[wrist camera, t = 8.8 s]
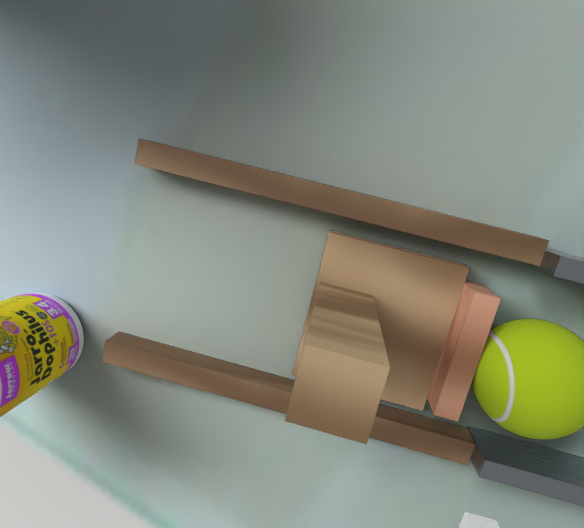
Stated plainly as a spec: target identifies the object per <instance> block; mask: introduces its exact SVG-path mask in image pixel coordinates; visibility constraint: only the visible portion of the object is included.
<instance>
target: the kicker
mask: <svg viewBox="0 0 584 528" xmlns="http://www.w3.org/2000/svg"><path fill="white" fill-rule="evenodd" d="M469 269H470V268H469V267H467V266H466V265H465V264H462V263H458V262H455V261H451V260H447V259H443V258H439V257H435V256H431V255H427V254H423V253H419V252H415V251H411V250H407V249H403V248H400V247H396V246H392V245H388V244H384V243H380V242H376V241H372V240H368V239H364V238H360V237H356V236H352V235H348V234H345V233H341V232H337V231H333V230H330V231H329V234H328V238H327V242H326V246H325V250H324V254H323V257H322V261H321V265H320V269H319V273H318V277H317V280H316V284H315V288H314V292H313V296H312V300H311V304H310V307H309V311H308V315H307V319H306V323H305V327H304V330H303V334H302V338H301V342H300V346H299V350H298V354H297V357H296V361H295V365H294V369H293V373H292V375H295V376H296V378H295V382H294V386H293V390H292V394H291V399H290V403H289V407H288V411H287V415H286V419H285V421H287V422H291V423H294V424H298V425H301V426H305V427H308V428H312V429H315V430H319V431H322V432H326V433H329V434H333V435H336V436H340V437H343V438H347V439H350V440H354V441H358V442H361V443H365V444H367V441H368V438H369V435H370V431H371V428H372V425H373V422H374V418H375V415H376V412H377V409H378V405H379V402H380V399H381V400H385V401H389V402H392V403H396V404H399V405H403V406H407V407H410V408H414V409H418V410H421V411H423V409H424V406H425V402H426V399H427V398H428V401H429V404H430V406H431V409H432V412H433V414H434V415H435V416H439V417H443V418H446V419H450V420H453V421H457V422H458V420H459V417H460V415H461V412H462V409H463V406H464V403H465V400H466V397H467V394H468V392H469V389H470V386H471V383H472V380H473V377H474V374H475V372H476V369H477V366H478V363H479V360H480V357H481V354H482V352H483V349H484V346H485V343H486V340H487V337H488V334H489V332H490V329H491V326H492V323H493V320H494V317H495V314H496V312H497V309H498V306H499V303H500V300H501V299H500V298H499V297H498V296H496V295H495V294H494V293H492V292H491V291H490V290H489V289H487V288H486V287H485V286H483V285H482V284H479V283H475V282H471V281H467V280H466V278H467V275H468V272H469Z"/></svg>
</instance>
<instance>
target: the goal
mask: <svg viewBox="0 0 584 528" xmlns="http://www.w3.org/2000/svg"><path fill="white" fill-rule="evenodd" d="M526 264H529V265H531V266H533V267H535V268H537V269H539V270H541V271H544V272H546V273H548V274H550V275H552V276H555V277H559V278H563V279H567V280H571V281H575V282H579V283H583V284H584V258H580V257H576V256H572V255H568V254H564V253H560V252H556V251H552V250H548V249H546V251H545V253H544V256H543V259H542V262H541V264H540V266H537V265H534V264H530V263H526ZM467 429H468V431H469V433H470V435H471V437H472V439H473V441H474V443H475V447H474V449H473V452H472V455H471V460H472V462H473V464H474V466H475V469H476V471H477V473H478V475H479V477H482V478H486V479H489V480H493V481H496V482H500V483H504V484H507V485H511V486H514V487H518V488H521V489H525V490H528V491H532V492H535V493H539V494H542V495H546V496H549V497H553V498H556V499H560V500H563V501H567V502H570V503H574V504H577V505H581V506H584V458H582V457H579V456H575V455H572V454H568V453H564V452H561V451H557V450H554V449H550V448H546V447H543V446H539V445H536V444H532V443H528V442H525V441H521V440H518V439H514V438H510V437H507V436H503V435H500V434H496V433H492V432H489V431H485V430H481V429H478V428H474V427H471V426H468V428H467Z"/></svg>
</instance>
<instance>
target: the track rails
mask: <svg viewBox="0 0 584 528" xmlns="http://www.w3.org/2000/svg"><path fill="white" fill-rule="evenodd" d="M135 164H137V165H141V166H145V167H149V168H153V169H157V170H161V171H165V172H169V173H173V174H177V175H181V176H184V177H188V178H192V179H196V180H200V181H204V182H208V183H212V184H216V185H220V186H224V187H228V188H232V189H236V190H240V191H244V192H248V193H252V194H256V195H260V196H264V197H268V198H272V199H276V200H280V201H284V202H288V203H292V204H296V205H300V206H303V207H307V208H311V209H315V210H319V211H323V212H327V213H331V214H335V215H339V216H343V217H347V218H351V219H355V220H359V221H363V222H367V223H371V224H375V225H379V226H383V227H387V228H391V229H395V230H399V231H403V232H407V233H411V234H415V235H418V236H422V237H426V238H430V239H434V240H438V241H442V242H446V243H450V244H454V245H458V246H462V247H466V248H470V249H474V250H478V251H482V252H486V253H490V254H494V255H498V256H502V257H506V258H510V259H514V260H518V261H522V262H526V263H530V264H534V265H537V266H540V264H541V262H542V259H543V256H544V253H545V251H546V248H547V245H548V242H549V241H548V240H545V239H542V238H539V237H535V236H531V235H527V234H523V233H519V232H515V231H511V230H507V229H503V228H499V227H495V226H491V225H487V224H483V223H479V222H475V221H471V220H467V219H463V218H459V217H455V216H451V215H447V214H442V213H438V212H434V211H430V210H426V209H422V208H418V207H414V206H410V205H406V204H402V203H398V202H394V201H390V200H386V199H382V198H378V197H374V196H370V195H366V194H362V193H358V192H354V191H350V190H346V189H342V188H338V187H334V186H330V185H326V184H322V183H318V182H314V181H309V180H305V179H301V178H297V177H293V176H289V175H285V174H281V173H277V172H273V171H269V170H265V169H261V168H257V167H253V166H249V165H245V164H241V163H237V162H233V161H229V160H225V159H221V158H217V157H213V156H209V155H205V154H201V153H197V152H193V151H189V150H185V149H181V148H176V147H172V146H168V145H164V144H160V143H156V142H152V141H147V140H142V139H139V141H138V147H137V153H136V159H135ZM102 362H105V363H108V364H112V365H115V366H119V367H122V368H126V369H129V370H133V371H136V372H140V373H143V374H147V375H150V376H154V377H158V378H161V379H165V380H168V381H172V382H175V383H179V384H182V385H186V386H189V387H193V388H196V389H200V390H203V391H207V392H211V393H214V394H218V395H221V396H225V397H228V398H232V399H235V400H239V401H242V402H246V403H249V404H253V405H256V406H260V407H264V408H267V409H271V410H274V411H278V412H281V413H285V414H287V411H288V407H289V403H290V399H291V394H292V390H293V386H294V382H295V380H292V379H288V378H284V377H281V376H277V375H274V374H270V373H266V372H263V371H259V370H256V369H252V368H248V367H245V366H241V365H238V364H234V363H230V362H227V361H223V360H220V359H216V358H212V357H209V356H205V355H202V354H198V353H194V352H191V351H187V350H184V349H180V348H176V347H173V346H169V345H166V344H162V343H158V342H155V341H151V340H148V339H144V338H140V337H137V336H133V335H130V334H126V333H122V332H118V333H116V334H115V335H114V336H112V337H111V338H109V339H108V340H106V341H105V347H104V353H103V359H102ZM369 437H370V438H373V439H377V440H380V441H384V442H387V443H391V444H394V445H398V446H401V447H405V448H408V449H412V450H415V451H419V452H423V453H426V454H430V455H433V456H437V457H440V458H444V459H447V460H451V461H454V462H458V463H461V464H465V465H468V463H469V460H470V458H471V455H472V452H473V449H474V447H475V443H474V441H473V439H472V437H471V435H470V433H469V431H468V429H467V428H464V427H461V426H457V425H454V424H450V423H446V422H443V421H439V420H436V419H432V418H428V417H425V416H421V415H418V414H414V413H410V412H407V411H403V410H400V409H396V408H392V407H389V406H385V405H382V404H379V405H378V409H377V412H376V415H375V418H374V422H373V425H372V428H371V431H370V435H369Z"/></svg>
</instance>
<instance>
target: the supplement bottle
mask: <svg viewBox="0 0 584 528" xmlns="http://www.w3.org/2000/svg"><path fill="white" fill-rule="evenodd" d="M83 345H84V334H83V329H82V325H81V323H80V321H79V319H78V317H77V315H76V313H75V312H74V311H73V309H72V308H71V307H70V306H69V305H68V304H67V303H65V302H64V301H63V300H61V299H59V298H57V297H56V296H53V295H50V294H47V293H41V292H32V293H26V294H22V295H19V296H16V297H13V298H10V299H7V300H4V301H1V302H0V417H1V416H2V415H4V414H5V413H7V412H8V411H10V410H11V409H13V408H14V407H16V406H17V405H19V404H20V403H22V402H23V401H25V400H26V399H28V398H29V397H31V396H32V395H34V394H35V393H37V392H38V391H39V390H41V389H42V388H44V387H45V386H47V385H48V384H50V383H51V382H53V381H54V380H56V379H57V378H59V377H60V376H62V375H63V374H64V373H66V372H67V371H68V370H70V369H71V368H72V367H73V366H74V365H75V363H76V362H77V361H78V359H79V357H80V355H81V353H82V350H83Z"/></svg>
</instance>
